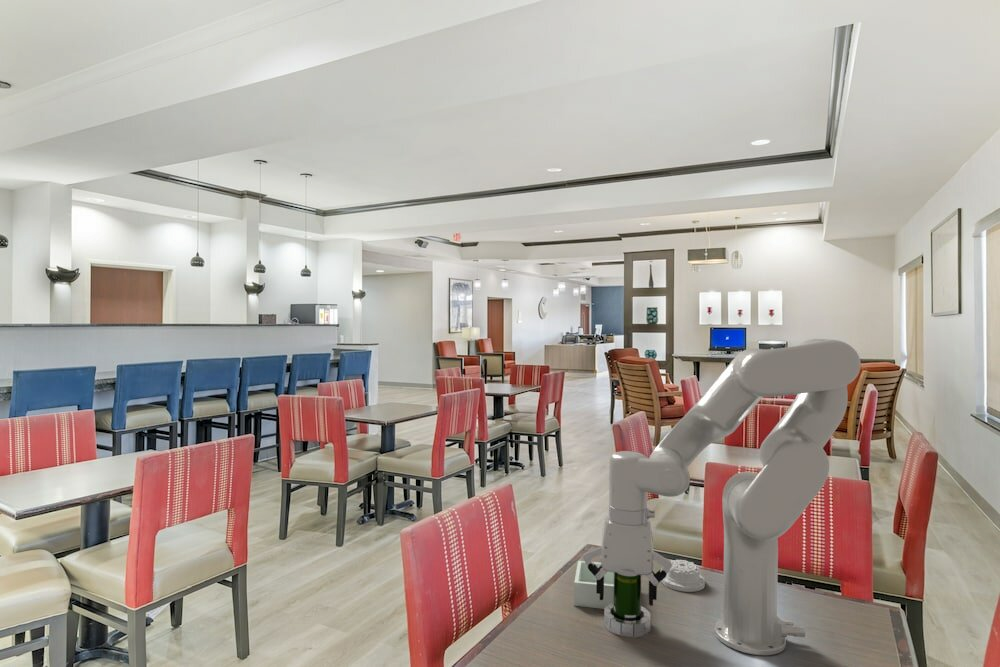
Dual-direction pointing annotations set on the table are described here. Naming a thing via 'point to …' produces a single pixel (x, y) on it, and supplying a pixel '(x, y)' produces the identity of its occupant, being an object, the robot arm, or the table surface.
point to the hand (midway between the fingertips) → (625, 599)
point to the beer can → (627, 595)
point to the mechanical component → (684, 577)
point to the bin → (592, 588)
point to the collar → (627, 623)
